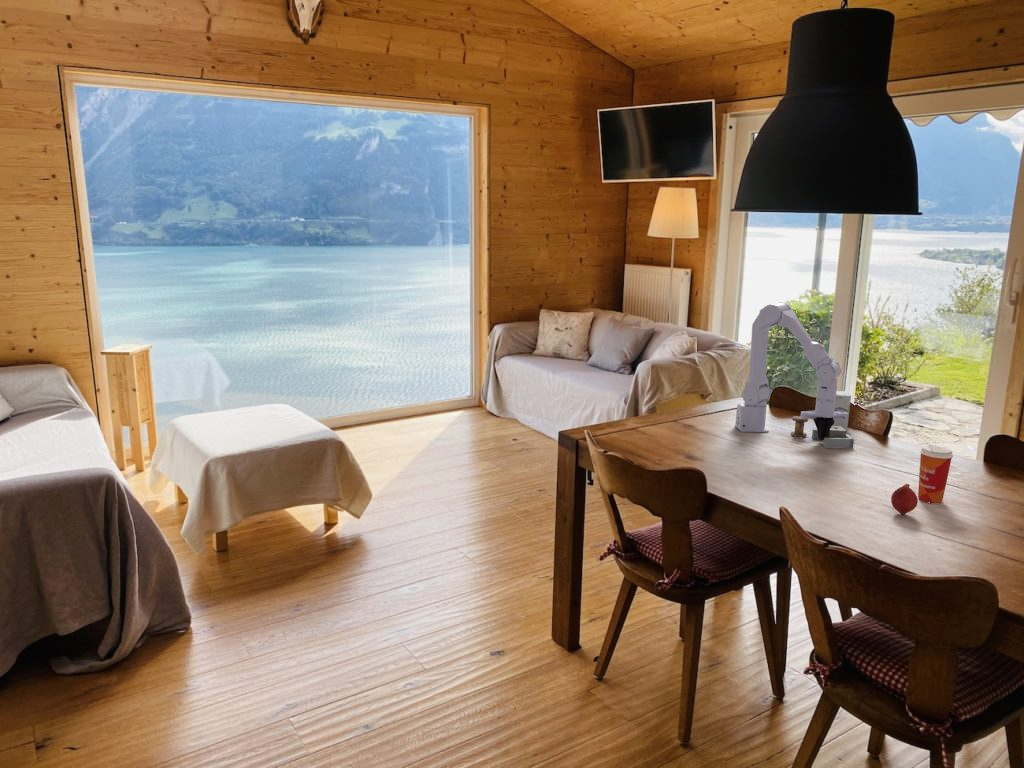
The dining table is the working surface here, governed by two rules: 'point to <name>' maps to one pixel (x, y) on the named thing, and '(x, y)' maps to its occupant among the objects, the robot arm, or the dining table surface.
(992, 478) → the dining table surface
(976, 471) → the dining table surface
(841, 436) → the dice cube
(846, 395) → the supplement box
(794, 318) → the robot arm
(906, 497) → the onion
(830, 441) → the notch block
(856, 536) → the dining table surface
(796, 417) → the bobbin
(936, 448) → the paper cup
